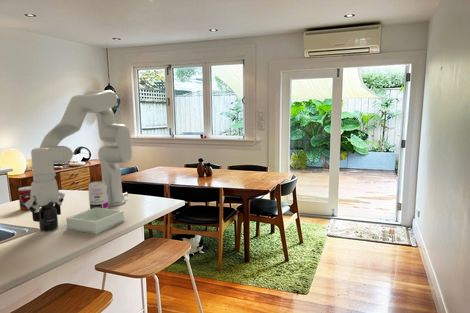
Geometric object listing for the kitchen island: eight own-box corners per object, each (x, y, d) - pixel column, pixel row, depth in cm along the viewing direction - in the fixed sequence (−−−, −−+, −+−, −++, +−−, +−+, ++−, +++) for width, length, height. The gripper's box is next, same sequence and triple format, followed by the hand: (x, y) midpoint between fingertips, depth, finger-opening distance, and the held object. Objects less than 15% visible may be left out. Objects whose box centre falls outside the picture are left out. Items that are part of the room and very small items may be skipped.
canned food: (16, 210, 165) (14, 189, 163) (31, 205, 172) (29, 185, 170) (27, 211, 162) (24, 190, 160) (41, 207, 169) (39, 186, 168)
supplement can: (104, 209, 163) (102, 180, 161) (111, 213, 157) (109, 182, 155) (87, 213, 157) (85, 183, 155) (94, 217, 151) (92, 185, 149)
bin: (96, 217, 150) (95, 207, 149) (124, 221, 144) (123, 210, 144) (67, 229, 135) (66, 218, 135) (96, 234, 130) (95, 222, 129)
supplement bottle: (50, 232, 133) (47, 204, 131) (35, 231, 134) (33, 203, 132) (62, 226, 139) (59, 199, 138) (48, 225, 141) (45, 198, 139)
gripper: (55, 173, 143) (59, 211, 145) (17, 181, 127) (21, 223, 129) (68, 174, 140) (71, 212, 142) (30, 182, 124) (34, 225, 126)
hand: (47, 217), depth 136 cm, fingers open, 9 cm apart
